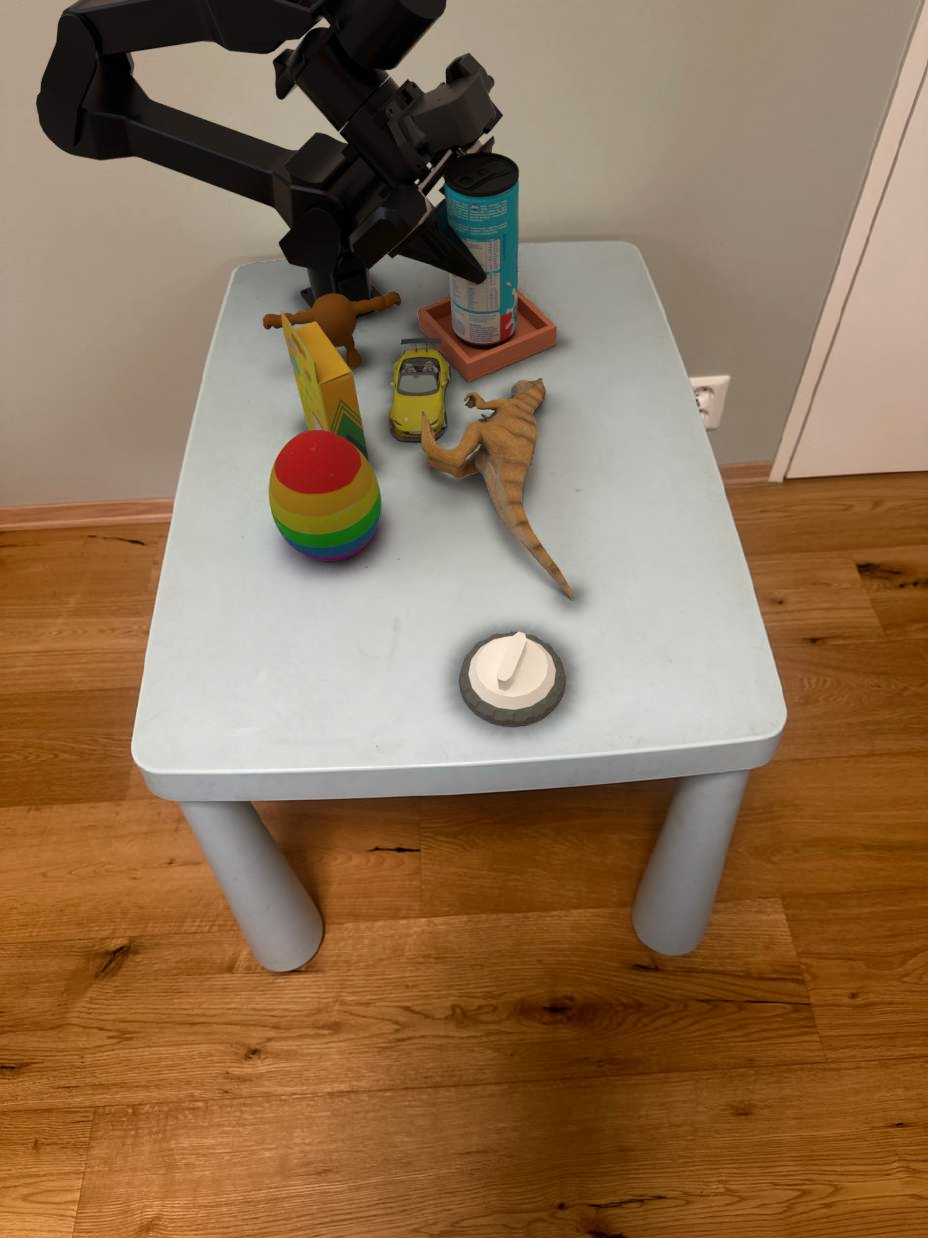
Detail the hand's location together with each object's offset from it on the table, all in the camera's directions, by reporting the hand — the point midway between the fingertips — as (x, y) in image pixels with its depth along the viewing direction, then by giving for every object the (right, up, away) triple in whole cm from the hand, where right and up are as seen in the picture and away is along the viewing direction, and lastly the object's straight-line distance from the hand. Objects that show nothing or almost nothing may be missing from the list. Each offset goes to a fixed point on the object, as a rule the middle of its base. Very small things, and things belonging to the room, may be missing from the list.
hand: (497, 260), depth 78 cm
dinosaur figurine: (0, -20, -4) cm, 20 cm away
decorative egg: (-13, -24, -6) cm, 28 cm away
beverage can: (-1, -4, +7) cm, 8 cm away
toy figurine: (-14, -7, +6) cm, 17 cm away
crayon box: (-13, -16, 0) cm, 21 cm away
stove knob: (0, -35, -14) cm, 37 cm away
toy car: (-7, -12, +2) cm, 14 cm away
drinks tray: (-1, -4, +7) cm, 8 cm away
